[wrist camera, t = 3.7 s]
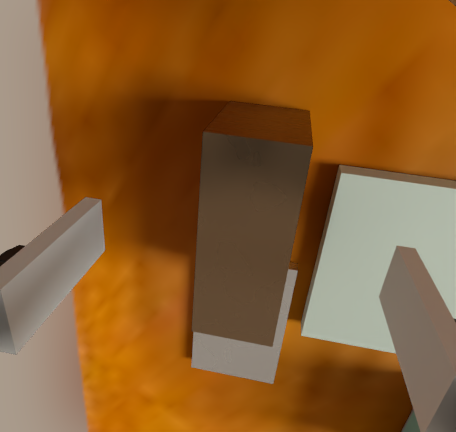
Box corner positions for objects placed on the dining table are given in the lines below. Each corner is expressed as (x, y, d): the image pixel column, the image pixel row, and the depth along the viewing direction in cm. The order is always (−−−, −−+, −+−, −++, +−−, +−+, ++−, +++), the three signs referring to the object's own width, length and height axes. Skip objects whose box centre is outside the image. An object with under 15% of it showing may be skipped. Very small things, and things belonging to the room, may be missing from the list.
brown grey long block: (210, 98, 19) (176, 127, 14) (330, 113, 18) (341, 150, 13) (194, 358, 28) (169, 436, 23) (273, 374, 27) (267, 458, 22)
